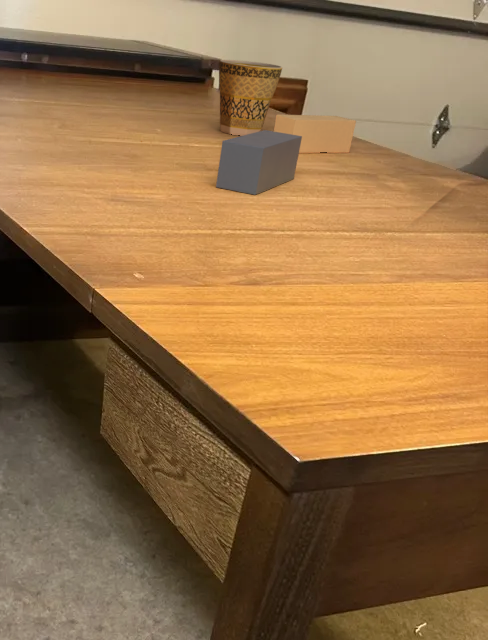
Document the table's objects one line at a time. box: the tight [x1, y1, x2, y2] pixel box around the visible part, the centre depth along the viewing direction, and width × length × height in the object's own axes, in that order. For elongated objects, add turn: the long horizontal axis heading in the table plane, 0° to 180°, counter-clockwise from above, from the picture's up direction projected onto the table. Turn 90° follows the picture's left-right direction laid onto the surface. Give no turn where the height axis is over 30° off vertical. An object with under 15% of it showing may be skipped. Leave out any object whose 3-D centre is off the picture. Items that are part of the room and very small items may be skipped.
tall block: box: [273, 114, 357, 154], centre depth 125 cm, size 4×4×12 cm
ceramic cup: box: [218, 59, 283, 137], centre depth 133 cm, size 13×10×10 cm
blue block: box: [215, 129, 302, 196], centre depth 98 cm, size 5×5×14 cm
